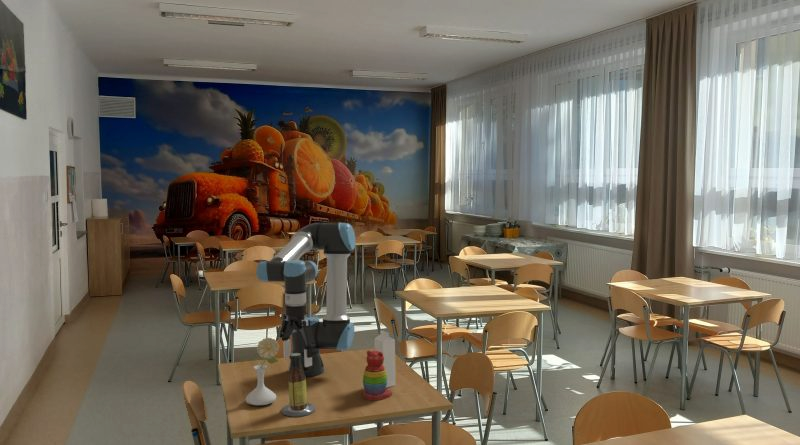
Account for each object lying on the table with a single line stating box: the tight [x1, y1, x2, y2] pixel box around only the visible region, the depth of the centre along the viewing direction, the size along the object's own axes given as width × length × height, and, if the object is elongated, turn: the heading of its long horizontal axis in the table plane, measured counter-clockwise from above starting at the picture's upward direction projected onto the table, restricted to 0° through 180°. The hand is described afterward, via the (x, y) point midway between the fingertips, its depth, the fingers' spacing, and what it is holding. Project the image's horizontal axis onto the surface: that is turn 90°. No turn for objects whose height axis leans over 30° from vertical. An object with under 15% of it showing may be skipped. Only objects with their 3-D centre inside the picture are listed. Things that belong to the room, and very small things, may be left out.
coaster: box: [281, 402, 316, 418], centre depth 231 cm, size 12×12×1 cm
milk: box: [374, 330, 396, 389], centre depth 257 cm, size 6×6×22 cm
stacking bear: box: [362, 350, 393, 401], centre depth 245 cm, size 11×10×18 cm
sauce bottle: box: [287, 353, 308, 410], centre depth 231 cm, size 7×6×20 cm
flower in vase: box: [245, 336, 280, 406], centre depth 239 cm, size 13×11×25 cm
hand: (297, 361), depth 230 cm, fingers open, 13 cm apart
